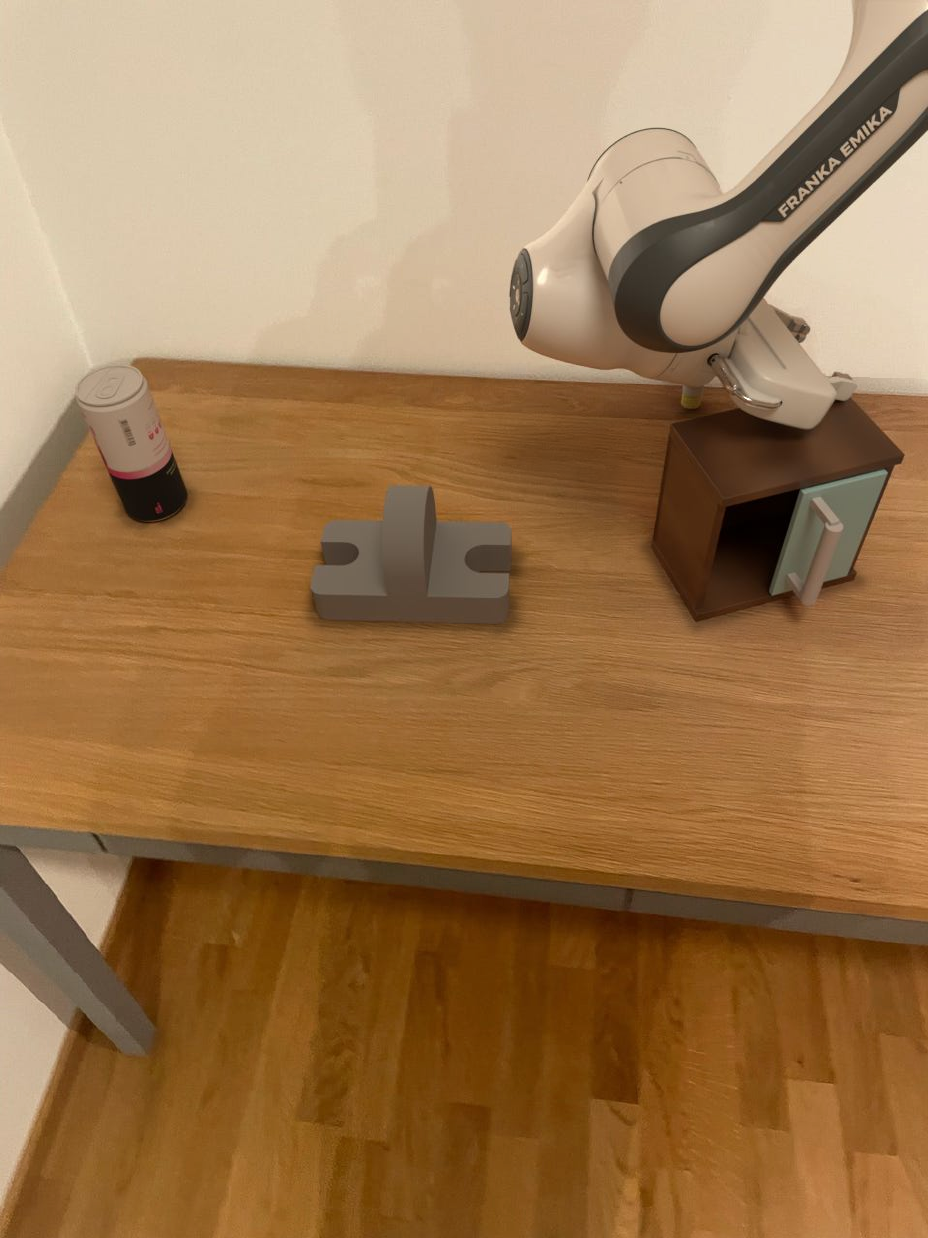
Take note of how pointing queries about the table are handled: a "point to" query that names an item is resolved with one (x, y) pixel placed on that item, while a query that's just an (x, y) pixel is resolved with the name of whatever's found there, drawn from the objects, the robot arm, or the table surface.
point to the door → (825, 534)
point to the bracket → (413, 566)
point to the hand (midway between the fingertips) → (826, 358)
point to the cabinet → (751, 498)
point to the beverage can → (131, 441)
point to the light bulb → (691, 396)
